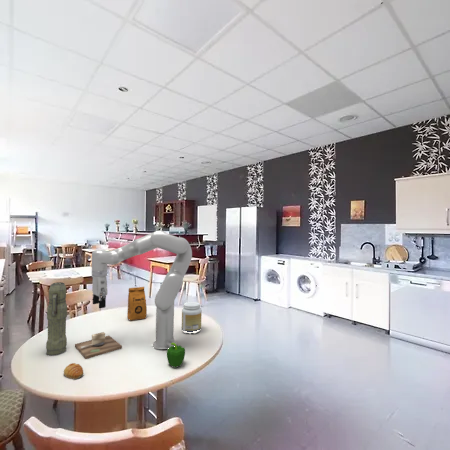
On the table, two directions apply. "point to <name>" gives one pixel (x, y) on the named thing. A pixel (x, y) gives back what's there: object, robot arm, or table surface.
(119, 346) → the wooden board
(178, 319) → the table surface
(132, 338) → the table surface
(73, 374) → the pastry
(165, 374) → the table surface
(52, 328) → the thermos
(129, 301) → the coffee package
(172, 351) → the bell pepper
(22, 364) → the table surface
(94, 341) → the knob
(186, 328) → the supplement tub
